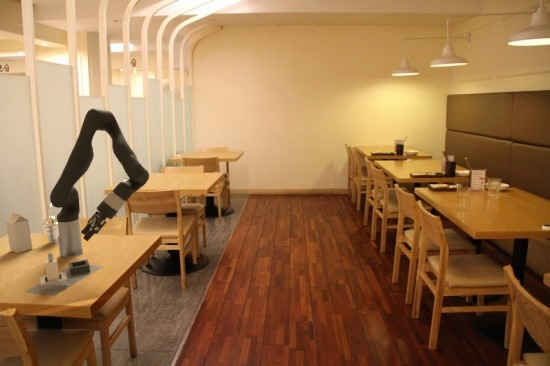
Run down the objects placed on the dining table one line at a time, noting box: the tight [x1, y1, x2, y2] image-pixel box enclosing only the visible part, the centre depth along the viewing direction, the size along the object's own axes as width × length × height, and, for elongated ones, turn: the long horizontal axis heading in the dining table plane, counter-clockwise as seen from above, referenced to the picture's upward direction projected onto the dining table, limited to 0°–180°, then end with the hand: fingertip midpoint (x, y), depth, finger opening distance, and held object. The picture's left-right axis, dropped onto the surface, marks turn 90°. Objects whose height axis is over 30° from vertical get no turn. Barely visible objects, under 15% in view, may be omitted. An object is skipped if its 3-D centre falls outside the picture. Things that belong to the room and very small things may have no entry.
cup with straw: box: [42, 203, 59, 244], centre depth 220 cm, size 8×9×20 cm
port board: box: [24, 264, 104, 296], centre depth 172 cm, size 14×28×2 cm, turn 165°
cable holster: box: [68, 259, 90, 275], centre depth 179 cm, size 7×7×3 cm
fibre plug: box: [44, 252, 60, 282], centre depth 164 cm, size 4×4×13 cm
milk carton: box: [5, 212, 33, 254], centre depth 209 cm, size 7×7×19 cm
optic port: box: [39, 271, 69, 292], centre depth 165 cm, size 9×9×3 cm
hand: (84, 236), depth 170 cm, fingers open, 8 cm apart
